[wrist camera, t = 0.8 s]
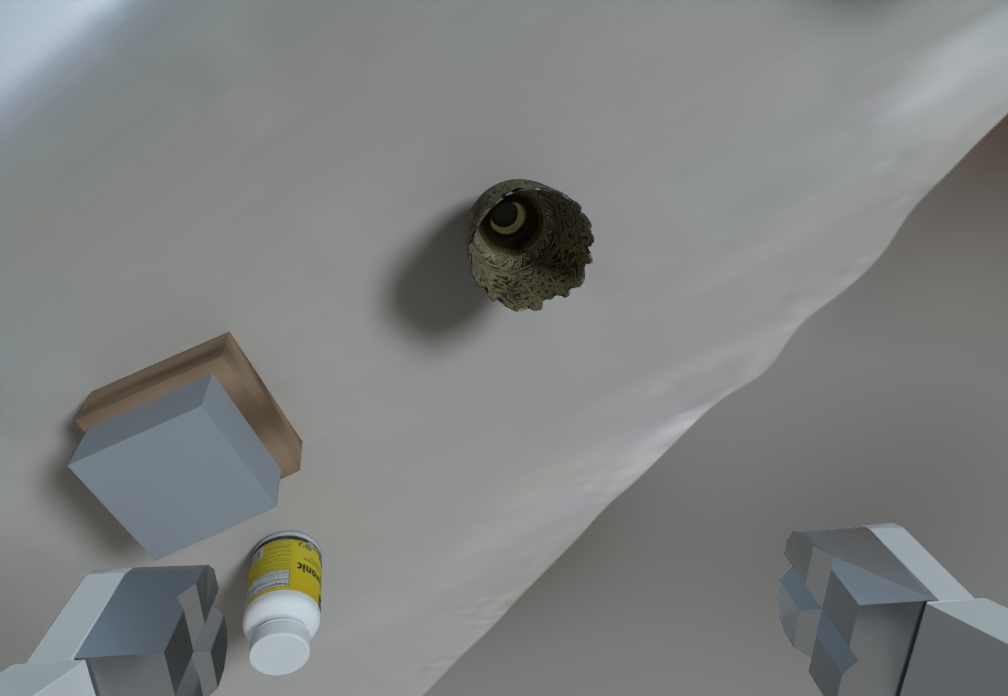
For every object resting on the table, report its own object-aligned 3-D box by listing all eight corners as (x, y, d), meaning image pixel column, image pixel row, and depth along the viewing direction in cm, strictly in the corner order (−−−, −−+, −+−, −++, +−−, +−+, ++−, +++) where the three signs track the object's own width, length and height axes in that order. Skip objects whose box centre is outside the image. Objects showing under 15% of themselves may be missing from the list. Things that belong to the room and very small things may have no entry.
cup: (470, 281, 49) (492, 330, 42) (433, 182, 45) (451, 217, 38) (569, 243, 49) (608, 285, 42) (540, 141, 46) (578, 169, 39)
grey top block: (88, 427, 44) (67, 465, 41) (212, 372, 44) (201, 405, 41) (168, 519, 48) (154, 560, 45) (281, 469, 49) (276, 506, 45)
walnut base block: (93, 388, 47) (74, 420, 44) (230, 329, 47) (221, 356, 44) (178, 492, 52) (167, 528, 49) (302, 438, 52) (299, 470, 49)
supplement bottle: (330, 569, 58) (329, 669, 49) (265, 588, 57) (252, 693, 49) (310, 520, 55) (305, 617, 47) (241, 540, 55) (224, 641, 46)
